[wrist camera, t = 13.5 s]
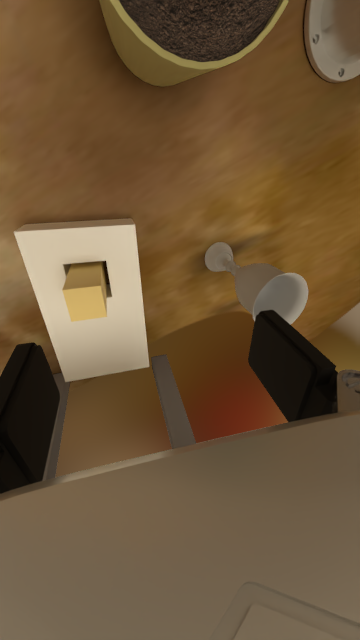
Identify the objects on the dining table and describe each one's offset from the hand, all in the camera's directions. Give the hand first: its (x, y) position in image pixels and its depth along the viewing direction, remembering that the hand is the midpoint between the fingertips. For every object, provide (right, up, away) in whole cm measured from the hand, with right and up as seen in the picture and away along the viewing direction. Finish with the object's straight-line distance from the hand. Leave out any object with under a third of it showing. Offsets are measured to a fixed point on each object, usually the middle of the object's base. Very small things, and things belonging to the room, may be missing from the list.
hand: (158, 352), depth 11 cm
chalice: (+7, +12, +32) cm, 35 cm away
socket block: (-13, +5, +30) cm, 33 cm away
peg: (-13, +9, +27) cm, 31 cm away
